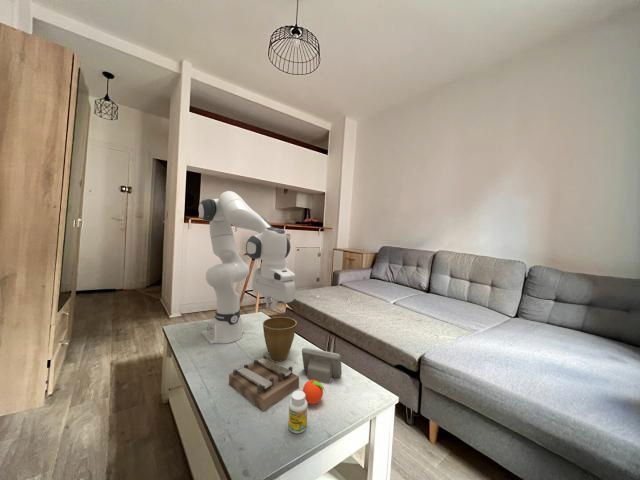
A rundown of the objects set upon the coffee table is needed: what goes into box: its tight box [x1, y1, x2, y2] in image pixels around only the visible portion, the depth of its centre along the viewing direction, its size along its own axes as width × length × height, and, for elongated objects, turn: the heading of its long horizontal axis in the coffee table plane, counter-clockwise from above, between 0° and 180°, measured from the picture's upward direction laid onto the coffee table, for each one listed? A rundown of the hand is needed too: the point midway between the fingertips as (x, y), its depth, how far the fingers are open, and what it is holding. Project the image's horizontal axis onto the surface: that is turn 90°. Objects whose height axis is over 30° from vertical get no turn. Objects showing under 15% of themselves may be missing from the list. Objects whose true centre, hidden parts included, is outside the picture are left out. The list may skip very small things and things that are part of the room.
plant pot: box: [262, 316, 297, 363], centre depth 109 cm, size 15×15×16 cm
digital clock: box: [301, 347, 343, 384], centre depth 97 cm, size 16×9×11 cm, turn 62°
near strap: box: [236, 366, 272, 389], centre depth 86 cm, size 16×3×1 cm, turn 51°
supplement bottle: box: [288, 390, 308, 434], centre depth 71 cm, size 5×5×10 cm
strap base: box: [228, 354, 300, 412], centre depth 89 cm, size 20×16×7 cm
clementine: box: [302, 379, 326, 405], centre depth 82 cm, size 8×7×7 cm
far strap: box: [257, 357, 291, 376], centre depth 93 cm, size 16×3×1 cm, turn 51°
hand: (271, 308), depth 91 cm, fingers closed
